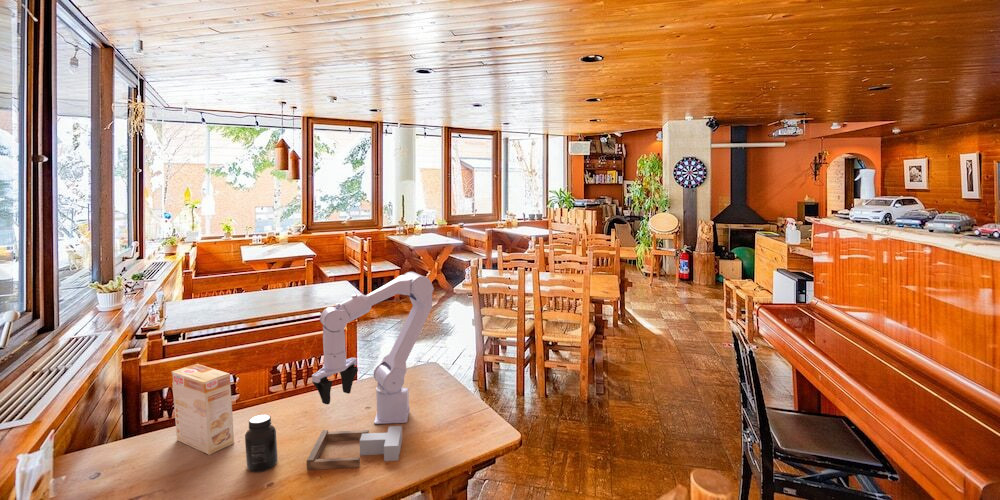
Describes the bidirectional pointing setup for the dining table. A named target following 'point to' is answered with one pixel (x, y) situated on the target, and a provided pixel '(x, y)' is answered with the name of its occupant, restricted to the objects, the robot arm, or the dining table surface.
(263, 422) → the supplement bottle
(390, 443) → the tee block
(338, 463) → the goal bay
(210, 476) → the dining table surface
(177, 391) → the coffeecake box
